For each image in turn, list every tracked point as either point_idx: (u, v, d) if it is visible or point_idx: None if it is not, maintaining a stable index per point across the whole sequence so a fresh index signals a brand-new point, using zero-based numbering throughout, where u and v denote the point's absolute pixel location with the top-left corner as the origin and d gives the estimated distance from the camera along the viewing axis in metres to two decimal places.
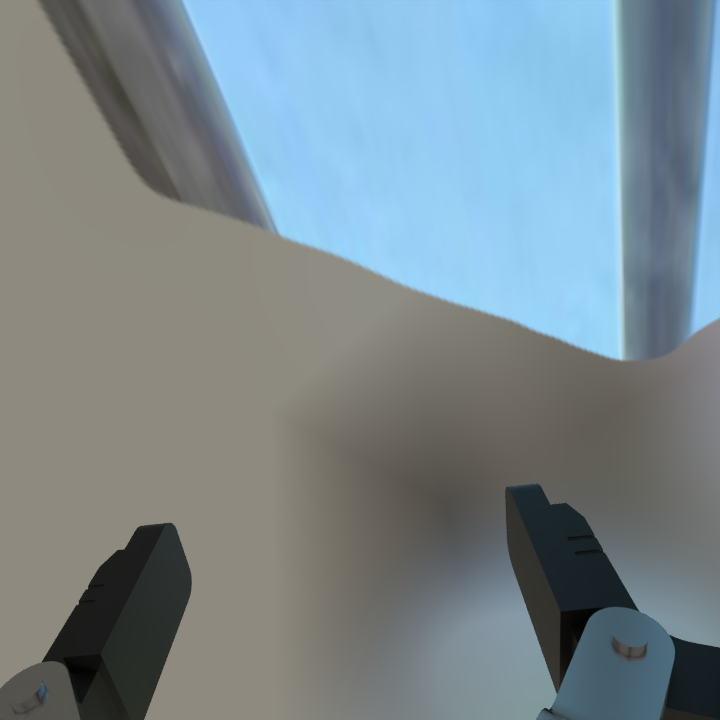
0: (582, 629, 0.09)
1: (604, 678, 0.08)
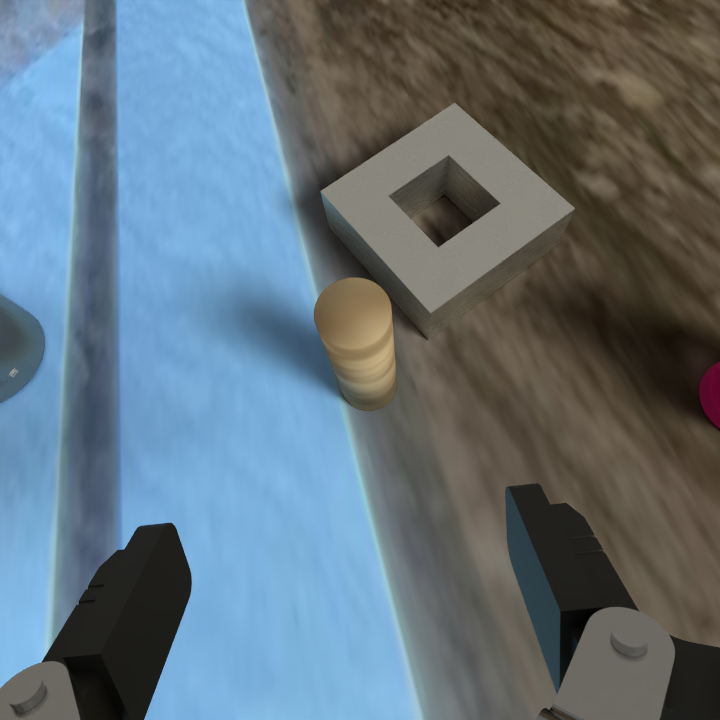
0: (582, 629, 0.09)
1: (604, 678, 0.08)
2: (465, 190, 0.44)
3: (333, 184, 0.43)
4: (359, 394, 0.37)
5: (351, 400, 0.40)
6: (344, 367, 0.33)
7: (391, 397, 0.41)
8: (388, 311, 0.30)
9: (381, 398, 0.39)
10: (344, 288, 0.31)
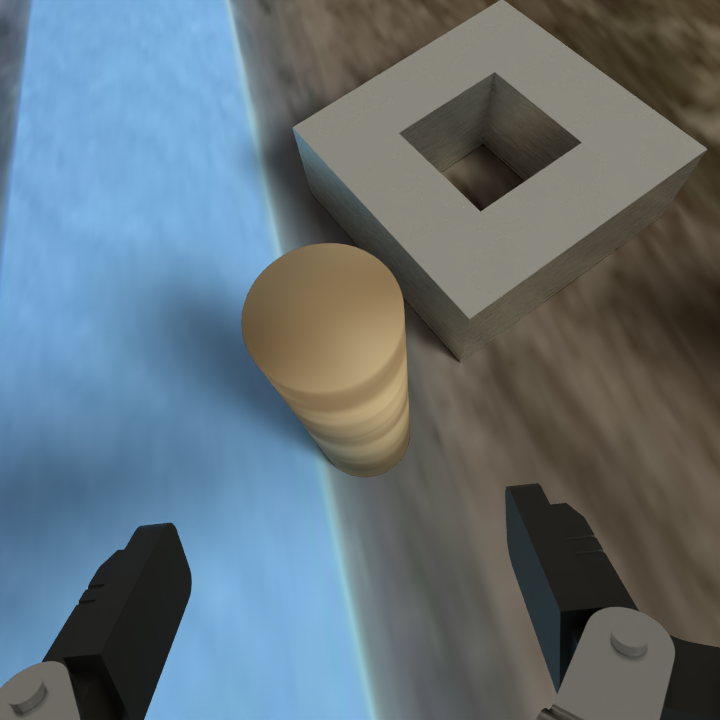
0: (582, 629, 0.09)
1: (604, 678, 0.08)
2: (519, 129, 0.29)
3: (314, 117, 0.28)
4: (345, 458, 0.22)
5: (334, 462, 0.24)
6: (312, 422, 0.17)
7: (401, 456, 0.25)
8: (397, 312, 0.14)
9: (384, 462, 0.23)
10: (307, 264, 0.15)
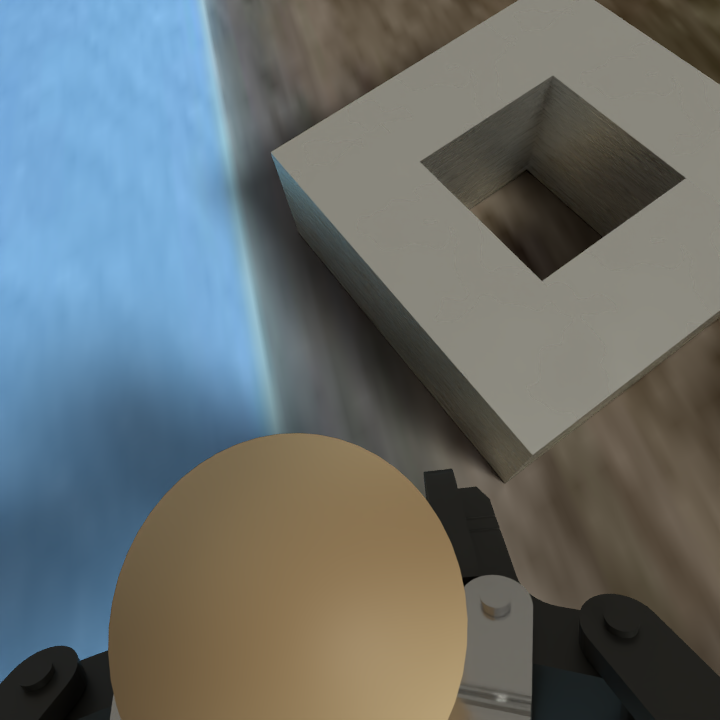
0: None
1: None
2: (583, 154, 0.21)
3: (300, 138, 0.20)
4: None
5: None
6: None
7: None
8: (452, 619, 0.06)
9: None
10: (256, 483, 0.07)
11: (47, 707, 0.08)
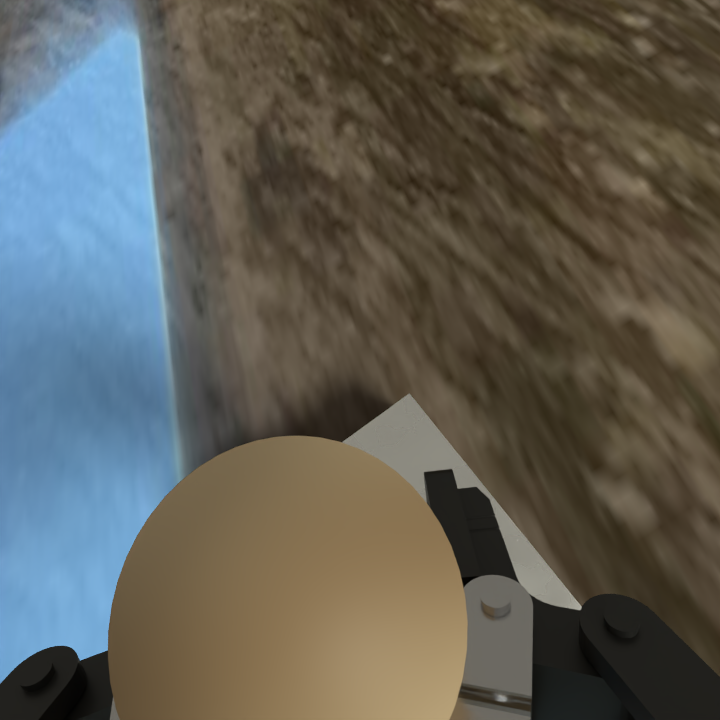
0: None
1: None
2: None
3: None
4: None
5: None
6: None
7: None
8: (453, 622, 0.06)
9: None
10: (256, 485, 0.07)
11: (47, 707, 0.08)
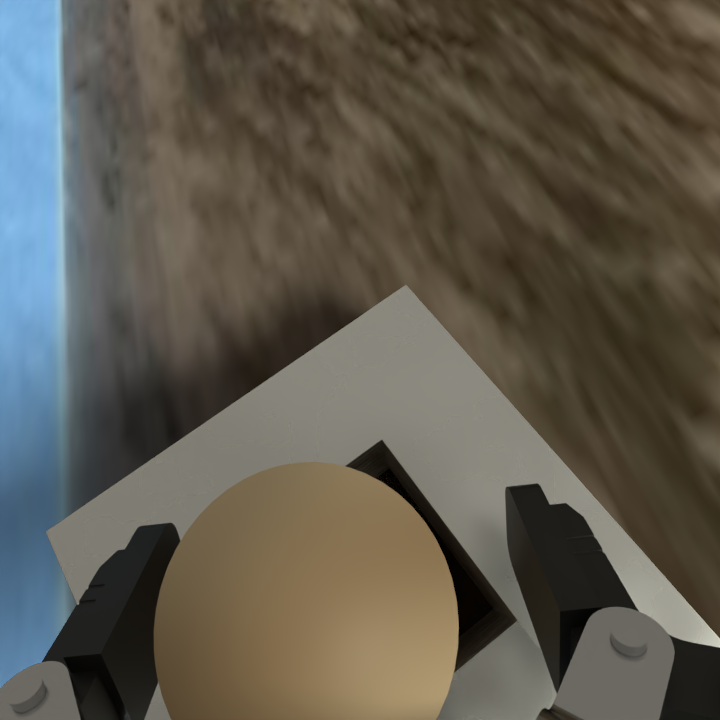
0: (582, 629, 0.09)
1: (603, 678, 0.08)
2: (427, 510, 0.18)
3: (83, 511, 0.17)
4: None
5: None
6: None
7: None
8: (445, 624, 0.07)
9: None
10: (278, 505, 0.08)
11: None
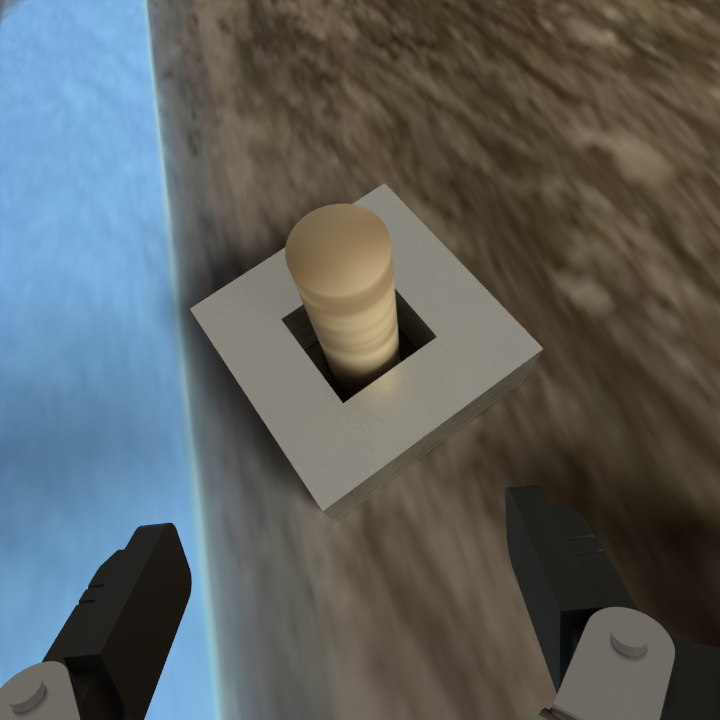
0: (582, 629, 0.09)
1: (604, 678, 0.08)
2: None
3: (209, 299, 0.31)
4: (351, 371, 0.29)
5: (342, 381, 0.32)
6: (328, 329, 0.25)
7: None
8: (386, 246, 0.22)
9: None
10: (327, 217, 0.23)
11: None
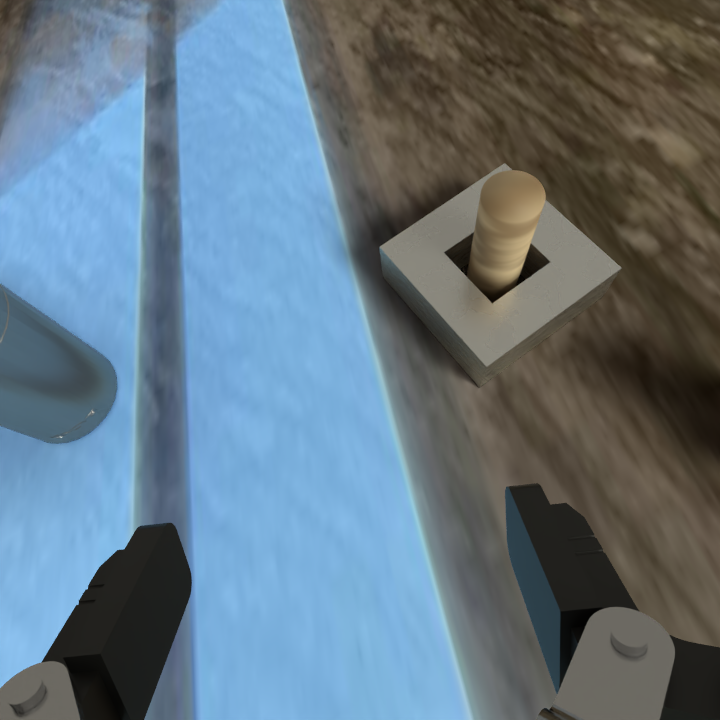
0: (582, 629, 0.09)
1: (604, 678, 0.08)
2: None
3: (392, 240, 0.46)
4: (492, 285, 0.44)
5: None
6: (495, 249, 0.40)
7: None
8: (542, 194, 0.37)
9: None
10: (503, 178, 0.38)
11: None
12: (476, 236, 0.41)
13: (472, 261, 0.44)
